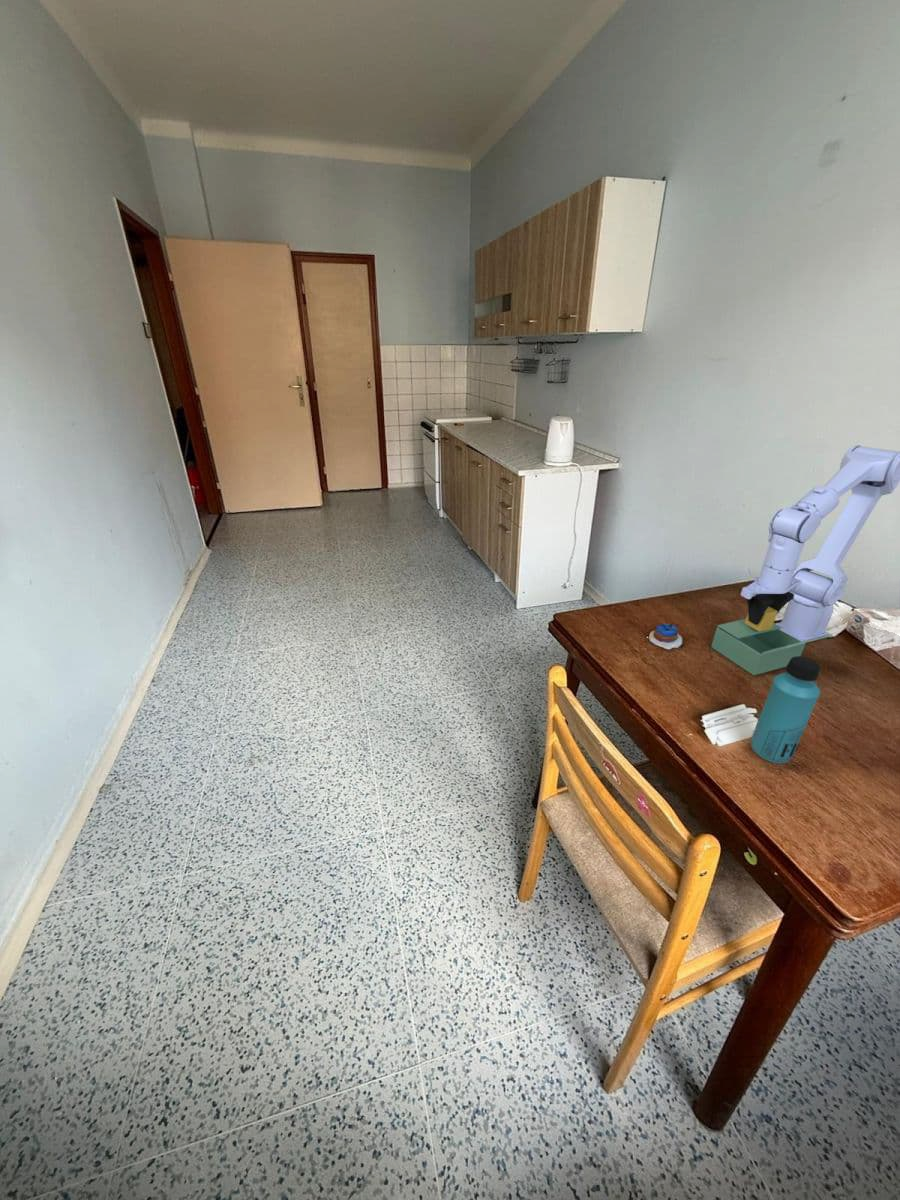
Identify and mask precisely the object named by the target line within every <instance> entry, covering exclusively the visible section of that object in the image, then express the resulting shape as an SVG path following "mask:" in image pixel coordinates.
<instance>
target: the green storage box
mask: <svg viewBox="0 0 900 1200" xmlns="http://www.w3.org/2000/svg"><path fill="white" fill-rule="evenodd" d="M745 621H746V618H744V619H739V620H735V621H729V622H725V623H721V624H717V627H716V629H715V632H714V636H713V640H712V643H711V648H712V649H713V650H715V651H716V652H718V653H719V654H721V655H722V656H724V657H726V658H727V659H729V660H730V661H731V662H733V663H734V664H736V665H737V666H738V667H740V668H742V669H743V670H744V671H746V672H748V673H749V674H751V675H752V676H757V675H761V674H765V673H769V672H772V671H775V670H779V669H783V668H786V667H787V665H788V663H789V661H790V659H791V658H793V657H796V656H800V657H802V653H803V651H804V649H805V646H806V643H807V642H806V643H803V644H799V645H795V646H791V647H787V648H783V649H779V650H775V651H771V652H767V653H762V652H765V651H768V650H772V649H776V648H780V647H784V646H788V645H792V644H796V643H800V642H802V641H800V640H798V639H796V638H795V637H793V636H791V635H789V634H787V633H785V632H784V631H782V630H780V629H781V628H782V627H780V626H778V625H776V623H775V622H774V623H773V626H772V629H769V630H765V631H760V632H759V631H757V630H756V629H754V628H752V627H751V626H749V625H747V624H745Z"/></svg>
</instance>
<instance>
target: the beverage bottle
mask: <svg viewBox="0 0 900 1200" xmlns="http://www.w3.org/2000/svg"><path fill="white" fill-rule="evenodd" d="M820 670H821V666H820V664H819V663H818V662H817V661H815V660H813V659H812V658H809V657H806V656H796V657H793V658H791V659H790V661H789V663H788V665H787V667H785V671H786V672H783V673H779V674H776V675H775V676H774V677H773V679H772V683H771V686H770V688H769V691H768V694H767V696H766V699H765V702H764V703H763V706H762V707H761V708H760V709H761V712H760V713H759V717H758V719H757V720H756V725H755V727H754V729H753V730H752V731H753V732H752V735H751V737H750V741H749V742H750V747H751V749H752V750H753V752H754V753H755V754H756V755H757V756H758V757H760V758H762V759H763V760H765V761H768V762H770V763H775V764H786V763H788V762H790V761H792V759H793V758H794V756H795V753H796V752H797V751H798V748H799V747H800V744H801V741H802V737H803V735H804V733H805V731H806V727H807V725H808V723H809V721H810V720H811V715H812V714H813V711H814V708H815V705H816V703H817V701H818V698H820V695H821V690H820V688H819V686H818V685H817V684H816V682H815V681H816V680H817V679H818V677H819V674H820Z"/></svg>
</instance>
